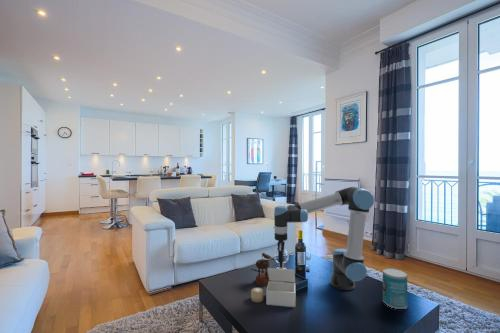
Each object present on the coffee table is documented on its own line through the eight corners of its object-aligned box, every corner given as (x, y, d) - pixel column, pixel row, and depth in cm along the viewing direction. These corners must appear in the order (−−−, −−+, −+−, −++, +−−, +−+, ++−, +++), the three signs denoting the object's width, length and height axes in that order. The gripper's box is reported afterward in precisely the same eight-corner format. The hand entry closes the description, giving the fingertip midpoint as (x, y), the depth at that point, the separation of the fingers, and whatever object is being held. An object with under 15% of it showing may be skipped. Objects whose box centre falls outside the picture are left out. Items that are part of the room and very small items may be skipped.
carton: (295, 296, 153) (295, 283, 153) (295, 307, 141) (295, 293, 141) (268, 294, 156) (268, 281, 156) (266, 304, 144) (266, 290, 144)
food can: (378, 302, 146) (378, 270, 146) (391, 296, 151) (391, 266, 151) (398, 312, 135) (398, 278, 135) (412, 306, 141) (412, 274, 141)
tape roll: (264, 296, 153) (263, 288, 153) (262, 302, 146) (262, 294, 146) (252, 295, 154) (252, 287, 154) (250, 301, 147) (250, 292, 147)
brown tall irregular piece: (274, 279, 176) (274, 251, 174) (272, 288, 165) (272, 258, 163) (253, 277, 179) (252, 249, 177) (249, 285, 168) (249, 256, 166)
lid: (295, 282, 153) (295, 281, 153) (294, 270, 146) (294, 269, 146) (269, 280, 156) (269, 279, 156) (267, 268, 149) (267, 267, 149)
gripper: (275, 229, 157) (276, 267, 158) (273, 235, 145) (273, 276, 145) (287, 229, 156) (288, 268, 157) (286, 236, 143) (287, 277, 144)
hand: (281, 272), depth 151 cm, fingers closed
